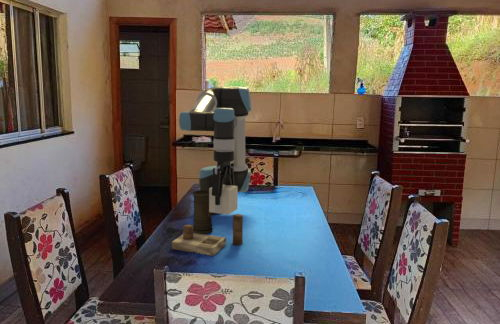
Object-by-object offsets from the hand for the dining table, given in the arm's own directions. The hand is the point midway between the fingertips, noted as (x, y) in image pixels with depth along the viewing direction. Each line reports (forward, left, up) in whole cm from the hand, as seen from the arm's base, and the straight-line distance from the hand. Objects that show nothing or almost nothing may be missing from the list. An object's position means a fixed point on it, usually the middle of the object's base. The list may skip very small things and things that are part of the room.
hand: (223, 209), depth 148 cm
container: (-20, -19, -18) cm, 33 cm away
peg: (-12, +1, -18) cm, 22 cm away
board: (-3, -12, -18) cm, 22 cm away
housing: (0, 0, 0) cm, 0 cm away
